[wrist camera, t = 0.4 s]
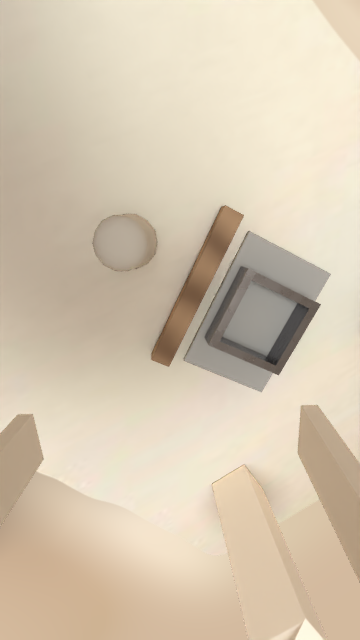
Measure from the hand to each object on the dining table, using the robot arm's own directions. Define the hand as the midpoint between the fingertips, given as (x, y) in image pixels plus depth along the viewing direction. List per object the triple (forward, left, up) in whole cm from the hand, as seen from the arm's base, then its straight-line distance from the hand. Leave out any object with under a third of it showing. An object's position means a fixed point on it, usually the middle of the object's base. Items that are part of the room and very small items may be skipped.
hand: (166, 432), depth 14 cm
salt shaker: (-7, -6, -24) cm, 25 cm away
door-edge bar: (-5, +3, -24) cm, 24 cm away
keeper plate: (-5, +12, -24) cm, 27 cm away
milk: (+20, +23, -24) cm, 39 cm away
